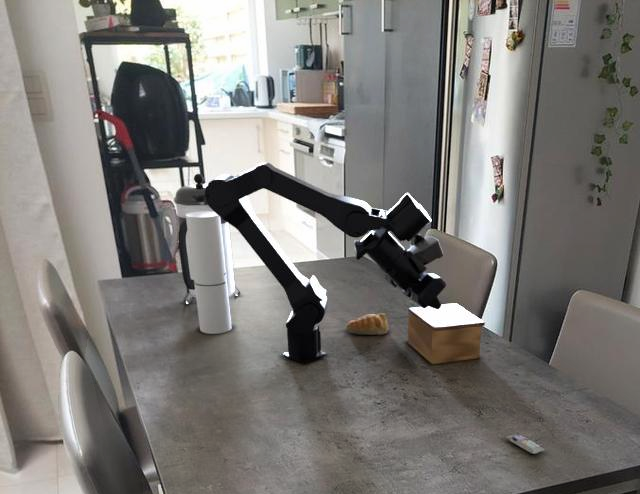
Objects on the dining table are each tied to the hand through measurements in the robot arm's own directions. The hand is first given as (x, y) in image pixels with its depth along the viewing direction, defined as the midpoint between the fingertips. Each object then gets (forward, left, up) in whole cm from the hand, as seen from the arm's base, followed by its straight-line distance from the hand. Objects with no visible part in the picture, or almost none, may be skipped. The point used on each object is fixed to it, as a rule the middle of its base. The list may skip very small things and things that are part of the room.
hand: (439, 307), depth 143 cm
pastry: (0, +19, -9) cm, 21 cm away
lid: (+1, -1, -3) cm, 3 cm away
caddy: (+1, -1, -9) cm, 9 cm away
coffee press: (-9, +65, -9) cm, 66 cm away
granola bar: (-26, -36, -9) cm, 45 cm away
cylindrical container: (-22, +47, -9) cm, 53 cm away
